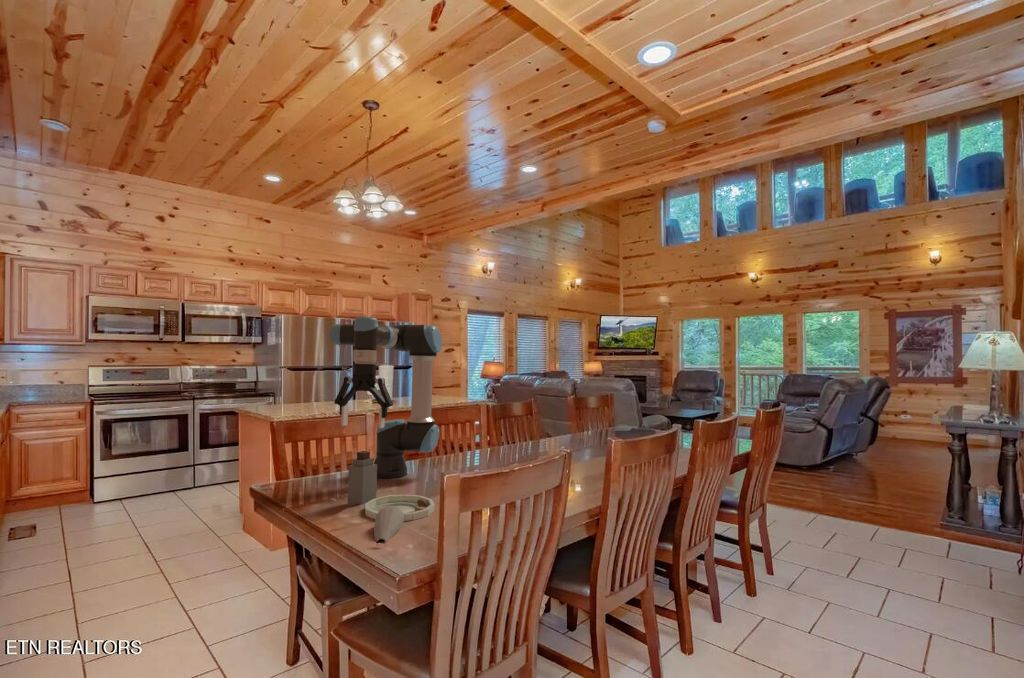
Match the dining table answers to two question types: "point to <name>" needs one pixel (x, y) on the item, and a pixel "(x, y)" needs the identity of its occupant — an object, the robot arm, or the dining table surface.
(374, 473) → the perfume bottle
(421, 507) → the bead
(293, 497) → the dining table surface
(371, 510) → the tray
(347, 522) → the dining table surface
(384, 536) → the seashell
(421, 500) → the bead
